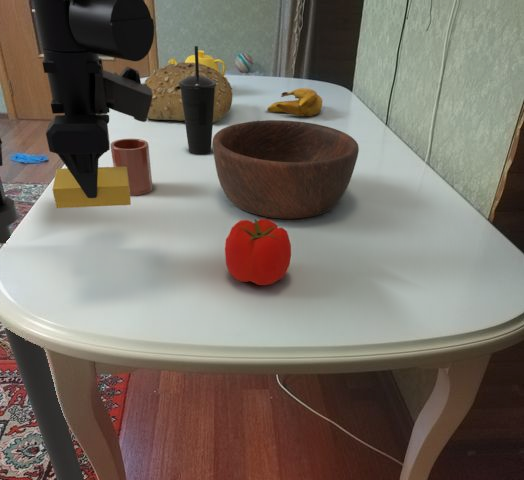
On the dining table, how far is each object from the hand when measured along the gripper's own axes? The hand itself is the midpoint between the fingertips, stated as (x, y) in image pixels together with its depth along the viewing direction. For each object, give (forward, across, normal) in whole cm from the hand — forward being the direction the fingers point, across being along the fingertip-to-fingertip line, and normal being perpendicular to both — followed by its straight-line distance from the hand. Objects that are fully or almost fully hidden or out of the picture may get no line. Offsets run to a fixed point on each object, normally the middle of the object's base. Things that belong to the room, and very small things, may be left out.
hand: (93, 186), depth 65 cm
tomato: (+11, -8, -20) cm, 25 cm away
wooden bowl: (+11, +19, -31) cm, 38 cm away
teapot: (+11, +103, -27) cm, 107 cm away
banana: (+11, +78, -51) cm, 93 cm away
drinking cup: (+11, +46, -20) cm, 52 cm away
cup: (+11, +26, -5) cm, 29 cm away
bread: (+11, +78, -21) cm, 81 cm away
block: (+1, 0, 0) cm, 1 cm away
